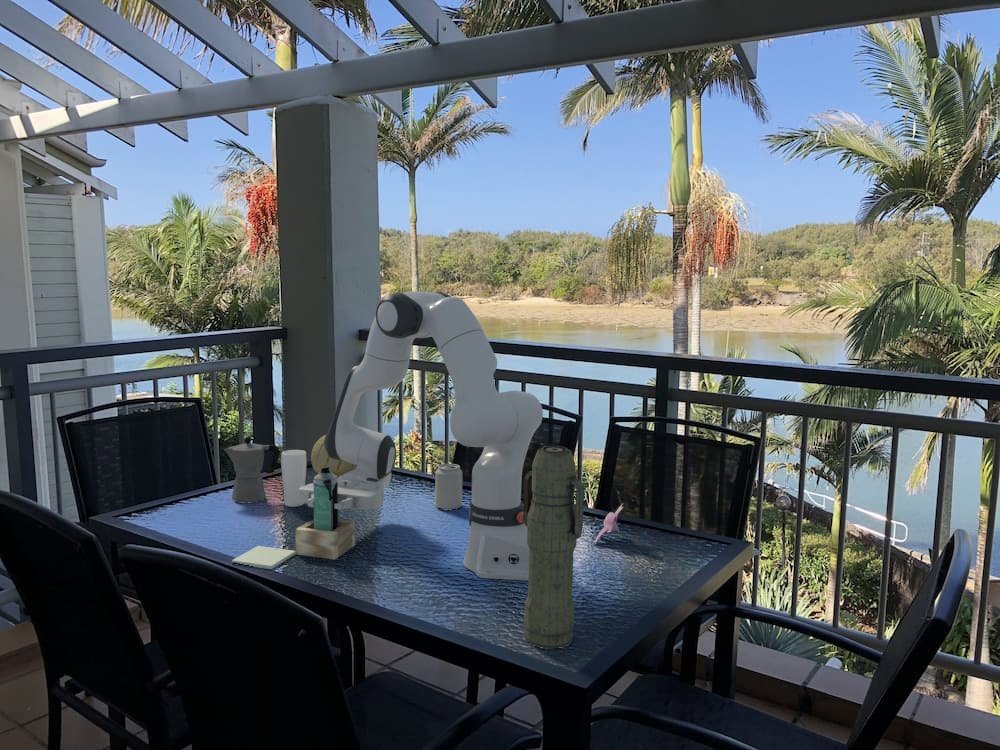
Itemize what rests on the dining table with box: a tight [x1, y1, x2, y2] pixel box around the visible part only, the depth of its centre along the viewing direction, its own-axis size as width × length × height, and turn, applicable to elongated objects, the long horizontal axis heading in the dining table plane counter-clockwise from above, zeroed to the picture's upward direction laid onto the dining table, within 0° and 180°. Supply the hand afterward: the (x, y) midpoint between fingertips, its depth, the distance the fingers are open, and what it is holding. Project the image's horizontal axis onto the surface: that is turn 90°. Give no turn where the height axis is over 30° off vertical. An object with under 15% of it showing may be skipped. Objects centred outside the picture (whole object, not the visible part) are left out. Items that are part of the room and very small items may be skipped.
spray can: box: [312, 466, 339, 531], centre depth 184 cm, size 6×6×20 cm
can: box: [434, 463, 463, 510], centre depth 220 cm, size 8×8×12 cm
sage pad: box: [231, 545, 297, 570], centre depth 179 cm, size 10×10×1 cm
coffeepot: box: [223, 436, 281, 504], centre depth 224 cm, size 15×9×18 cm, turn 100°
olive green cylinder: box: [523, 445, 585, 648], centre depth 140 cm, size 9×12×35 cm
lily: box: [594, 503, 626, 544], centre depth 195 cm, size 12×12×10 cm
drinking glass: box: [280, 449, 307, 508], centre depth 219 cm, size 7×7×15 cm
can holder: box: [295, 518, 356, 561], centre depth 185 cm, size 10×10×6 cm
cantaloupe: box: [310, 434, 357, 478], centre depth 248 cm, size 15×15×15 cm
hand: (323, 505), depth 183 cm, fingers closed on spray can, 5 cm apart
